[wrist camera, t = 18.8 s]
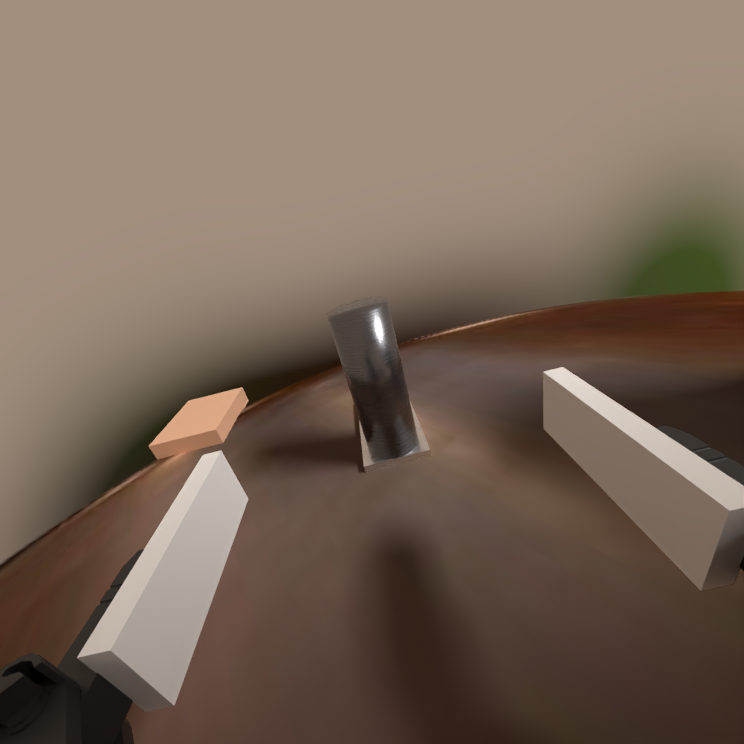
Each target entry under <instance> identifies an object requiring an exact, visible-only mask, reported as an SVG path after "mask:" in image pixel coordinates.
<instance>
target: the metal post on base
mask: <svg viewBox="0 0 744 744" xmlns="http://www.w3.org/2000/svg"><path fill="white" fill-rule="evenodd" d="M327 318H328V321H329V324H330V327H331V331H332V334H333V337H334V340H335V344H336V347H337V350H338V353H339V356H340V360H341V363H342V366H343V369H344V372H345V376H346V379H347V382H348V385H349V389H350V392H351V395H352V398H353V401H354V405H355V408H356V411H357V414H358V417H359V424H360V434H361V445H362V455H363V465H364V469H365V472H369V471H373V470H377V469H381V468H385V467H389V466H393V465H397V464H401V463H405V462H409V461H413V460H417V459H421V458H425V457H429V456H431V452H430V449H429V446H428V444H427V441H426V439H425V436H424V434H423V431H422V429H421V426H420V424H419V421H418V419H417V416H416V414H415V411H414V409H413V406H412V404H411V401H410V399H409V395H408V391H407V386H406V381H405V377H404V372H403V368H402V363H401V359H400V354H399V350H398V345H397V341H396V336H395V332H394V327H393V323H392V318H391V314H390V309H389V305H388V301H387V299H386V298H383V297H373V298H366V299H361V300H356V301H353V302H349V303H347V304H344V305H341V306H339V307H337V308H335V309H333V310H331V311H330V312H329V313H328V314H327Z"/></svg>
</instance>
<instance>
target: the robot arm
mask: <svg viewBox="0 0 744 744" xmlns="http://www.w3.org/2000/svg"><path fill="white" fill-rule="evenodd" d="M543 429H544V430H545V431H546V432H547V433H548V434H549V435H550V436H551V437H552V438H553V439H554V440H555V441H556V442H557V443H558V444H559V445H560V446H561V447H562V448H563V449H564V450H565V451H566V452H567V453H568V454H569V455H570V456H571V457H572V459H573V460H574V461H575V462H576V463H577V464H578V465H579V466H580V467H581V468H582V469H583V470H584V471H585V472H586V473H587V474H588V475H589V476H590V477H591V478H592V479H593V480H594V481H595V482H596V483H597V484H598V485H599V486H600V487H601V488H602V489H603V491H604V492H605V493H606V494H607V495H608V496H609V497H610V498H611V499H612V500H613V501H614V502H615V503H616V504H617V505H618V506H619V507H620V508H621V509H622V510H623V511H624V512H625V513H626V514H627V515H628V516H629V517H630V518H631V519H632V520H633V521H634V523H635V524H636V525H637V526H638V527H639V528H640V529H641V530H642V531H643V532H644V533H645V534H646V535H647V536H648V537H649V538H650V539H651V540H652V541H653V542H654V543H655V544H656V545H657V546H658V547H659V548H660V549H661V550H662V551H663V552H664V553H665V555H666V556H667V557H668V558H669V559H670V560H671V561H672V562H673V563H674V564H675V565H676V566H677V567H678V568H679V569H680V570H681V571H682V572H683V573H684V574H685V575H686V576H687V577H688V578H689V579H690V580H691V581H692V582H693V583H694V584H695V585H696V586H697V588H698V589H699V590H700V591H704V590H709V589H713V588H718V587H722V586H727V585H732V584H734V582H735V580H736V577H737V575H738V572H739V570H740V568H741V569H743V570H744V466H742V465H741V464H739V463H737V462H736V461H734V460H732V459H728V458H727V456H726V455H724V454H722V453H721V452H719V451H718V450H716V449H714V448H712V449H711V448H710V446H709V445H708V444H706V443H704V442H703V441H701V440H699V439H698V438H696V437H695V436H693V435H691V434H689V433H687V432H684V431H681V430H678V429H676V428H673V427H670V426H667V425H664V426H660V427H656V428H655V427H653V426H652V425H650V424H649V423H647V422H646V421H644V420H643V419H641V418H640V417H638V416H637V415H635V414H633V413H632V412H630V411H629V410H627V409H626V408H624V407H623V406H621V405H620V404H618V403H617V402H615V401H614V400H612V399H611V398H609V397H608V396H606V395H605V394H603V393H601V392H600V391H598V390H597V389H595V388H594V387H592V386H591V385H589V384H588V383H586V382H585V381H583V380H582V379H580V378H579V377H577V376H576V375H574V374H573V373H571V372H569V371H568V370H566V369H565V368H563V367H561V368H557V369H553V370H548V371H544V372H543ZM247 501H248V497H247V496H246V494H245V492H244V490H243V489H242V487H241V485H240V483H239V481H238V480H237V478H236V476H235V474H234V473H233V471H232V469H231V467H230V465H229V464H228V462H227V460H226V458H225V457H224V455H223V453H222V451H217V452H213V453H209V454H205V455H203V456H202V457H201V459H200V461H199V462H198V464H197V465H196V467H195V469H194V470H193V472H192V473H191V475H190V477H189V478H188V480H187V481H186V483H185V485H184V486H183V488H182V490H181V491H180V493H179V494H178V496H177V498H176V499H175V501H174V502H173V504H172V506H171V507H170V509H169V510H168V512H167V514H166V515H165V517H164V518H163V520H162V522H161V523H160V525H159V526H158V528H157V530H156V531H155V533H154V535H153V536H152V538H151V539H150V541H149V543H148V544H147V546H146V547H145V549H142V550H139V551H138V552H137V553H136V554H135V555H134V556H133V557H132V558H131V559H130V560H129V561H128V562H127V563H126V564H125V565H124V566H123V568H122V569H121V571H120V572H119V574H118V575H117V577H116V578H115V580H114V581H113V583H112V584H111V586H110V587H111V588H110V590H107V592H106V594H105V595H104V597H103V598H102V600H101V601H100V605H99V606H97V607H96V609H95V610H94V612H93V613H92V615H91V617H90V618H89V620H88V621H87V623H86V624H85V626H84V627H83V629H82V630H81V632H80V633H79V635H78V636H77V638H76V639H75V641H74V643H73V644H72V646H71V647H70V649H69V650H68V652H67V653H66V655H65V656H64V658H63V659H62V661H61V662H60V664H59V666H58V667H57V668H56V667H55V666H53V665H52V664H51V663H49V662H48V661H47V660H45V659H44V658H43V657H41V656H40V655H37V654H32V653H31V654H28V655H25V656H22V657H19V658H18V659H16V660H14V661H13V662H11V663H9V664H8V665H6V666H5V667H3V668H2V669H1V670H0V744H134V742H133V735H132V729H131V726H130V724H129V722H128V720H127V719H126V718H125V717H126V715H127V713H128V711H129V708H130V706H131V704H132V702H133V703H134V704H136V705H137V706H138V707H140V708H141V709H142V710H143V711H145V712H149V711H153V710H158V709H162V708H167V707H171V706H175V703H176V700H177V697H178V695H179V692H180V689H181V686H182V683H183V680H184V678H185V675H186V672H187V669H188V666H189V664H190V661H191V658H192V655H193V652H194V650H195V647H196V644H197V641H198V638H199V636H200V633H201V630H202V627H203V624H204V622H205V619H206V616H207V613H208V610H209V608H210V605H211V602H212V599H213V596H214V594H215V591H216V588H217V585H218V582H219V580H220V577H221V574H222V571H223V568H224V566H225V563H226V560H227V557H228V554H229V552H230V549H231V546H232V543H233V540H234V538H235V535H236V532H237V529H238V526H239V524H240V521H241V518H242V515H243V512H244V510H245V507H246V504H247Z"/></svg>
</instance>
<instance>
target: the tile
mask: <svg viewBox="0 0 744 744" xmlns="http://www.w3.org/2000/svg"><path fill="white" fill-rule="evenodd" d="M248 401H249V400H248V398H247V396H246V394H245V392H244V390H243V388H238V389H234V390H230V391H226V392H222V393H218V394H214V395H210V396H206V397H202V398H198V399H194V400H190V401H188V402H187V403H186V404H185V405H184V407H183V408H182V409H181V410H180V411H179V412H178V413H177V415H176V416H175V417H174V418H173V419H172V420H171V421H170V423H169V424H168V425H167V426H166V427H165V428H164V429H163V430H162V432H161V433H160V434H159V435H158V436H157V437H156V438H155V439H154V441H153V442H152V443H151V444H150V445H149V448H150V449H151V450H152V452H153V454H154V455H155V456H156V458H157V459H160V458H164V457H168V456H172V455H176V454H180V453H184V452H188V451H192V450H196V449H200V448H204V447H208V446H212V445H216V444H220V443H223V442H224V440H225V439H226V437H227V435H228V433H229V431H230V430H231V428H232V426H233V424H234V422H235V421H236V419H237V417H238V415H239V413H240V412H241V410H243V409H244V408H245V407H246V405H247V403H248Z"/></svg>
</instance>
